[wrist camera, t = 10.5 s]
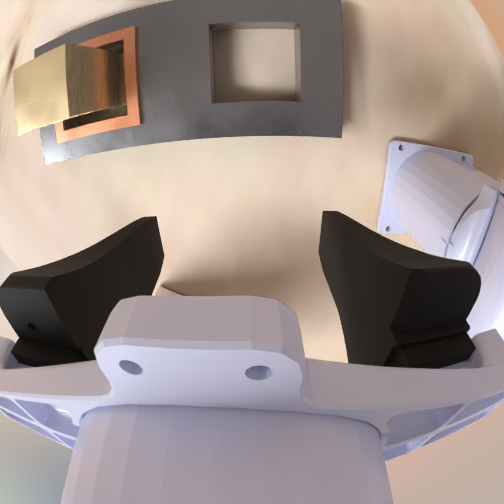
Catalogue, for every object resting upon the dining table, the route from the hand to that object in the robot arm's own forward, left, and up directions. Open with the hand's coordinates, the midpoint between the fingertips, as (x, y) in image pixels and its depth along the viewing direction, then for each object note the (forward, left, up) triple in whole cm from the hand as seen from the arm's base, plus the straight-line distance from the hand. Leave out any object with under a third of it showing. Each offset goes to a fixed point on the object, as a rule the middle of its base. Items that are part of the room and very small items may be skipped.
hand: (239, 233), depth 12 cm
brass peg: (+10, -8, -10) cm, 16 cm away
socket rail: (+5, -8, -9) cm, 13 cm away
